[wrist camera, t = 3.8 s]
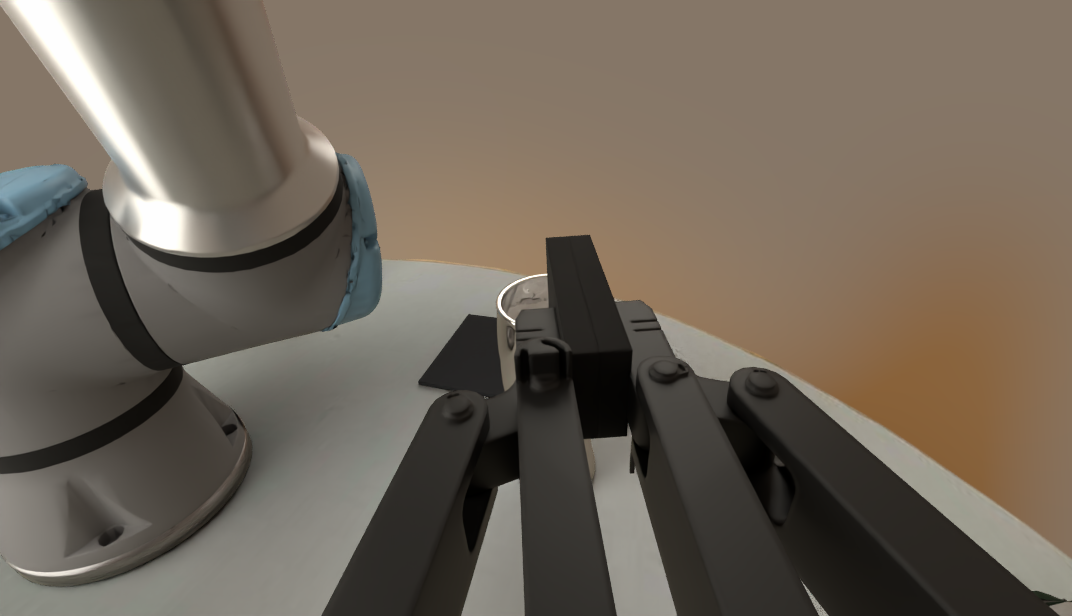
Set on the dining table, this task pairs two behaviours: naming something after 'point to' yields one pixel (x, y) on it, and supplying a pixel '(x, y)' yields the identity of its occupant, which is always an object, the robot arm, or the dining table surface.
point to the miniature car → (1056, 603)
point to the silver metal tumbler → (508, 306)
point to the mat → (468, 359)
